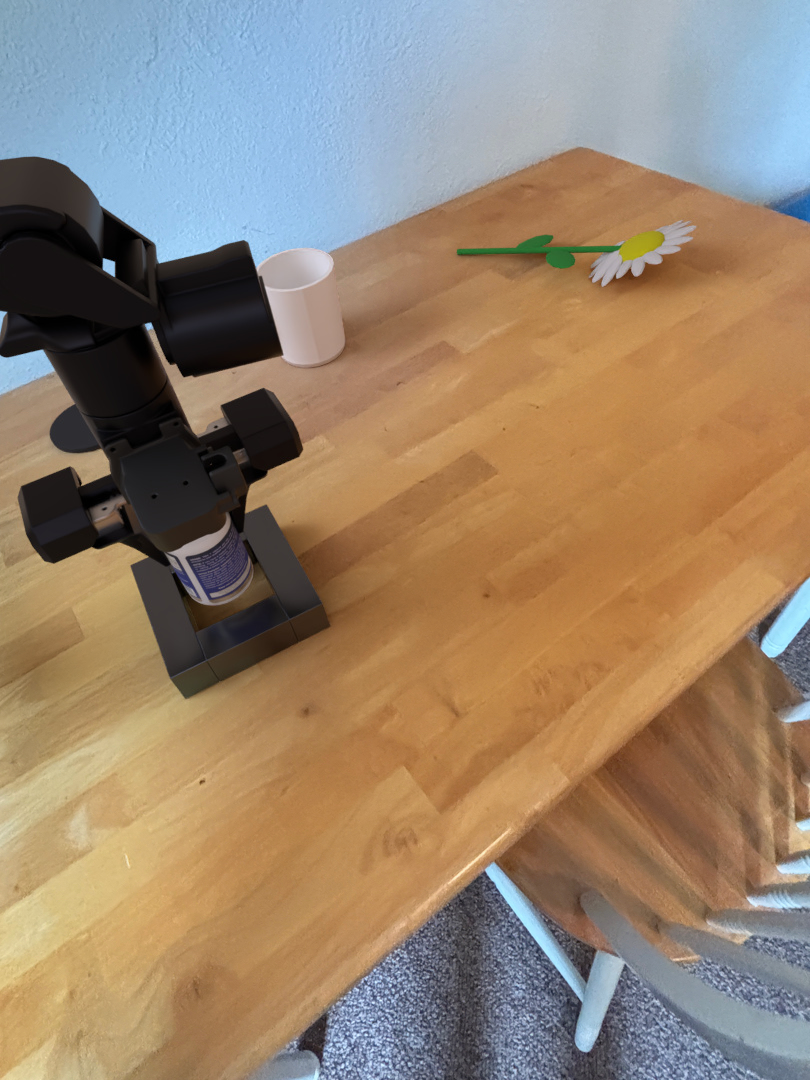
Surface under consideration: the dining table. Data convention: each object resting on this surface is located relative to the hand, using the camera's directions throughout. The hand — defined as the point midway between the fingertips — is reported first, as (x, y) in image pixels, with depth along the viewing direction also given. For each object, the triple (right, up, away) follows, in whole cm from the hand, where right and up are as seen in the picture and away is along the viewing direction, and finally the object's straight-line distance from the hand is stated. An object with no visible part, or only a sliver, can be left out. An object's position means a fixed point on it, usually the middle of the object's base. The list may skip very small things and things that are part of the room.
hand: (203, 545), depth 56 cm
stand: (+1, -5, +7) cm, 8 cm away
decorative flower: (+36, +35, +35) cm, 62 cm away
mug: (+4, +23, +30) cm, 38 cm away
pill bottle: (0, -3, +4) cm, 5 cm away
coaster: (-20, +13, +25) cm, 35 cm away
